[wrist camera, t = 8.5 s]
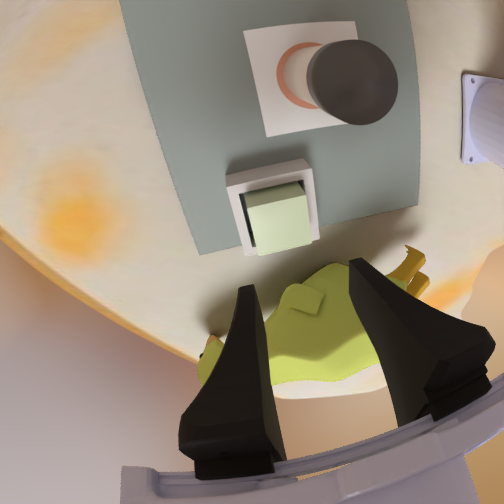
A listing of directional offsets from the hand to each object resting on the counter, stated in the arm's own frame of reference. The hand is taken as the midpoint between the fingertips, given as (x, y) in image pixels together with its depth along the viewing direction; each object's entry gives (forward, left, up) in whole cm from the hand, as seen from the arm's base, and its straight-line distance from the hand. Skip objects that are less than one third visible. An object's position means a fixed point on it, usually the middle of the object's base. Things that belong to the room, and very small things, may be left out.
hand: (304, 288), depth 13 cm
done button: (0, 0, -8) cm, 8 cm away
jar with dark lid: (-4, -8, -9) cm, 12 cm away
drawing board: (-3, -9, -9) cm, 13 cm away
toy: (-1, +10, -10) cm, 14 cm away
